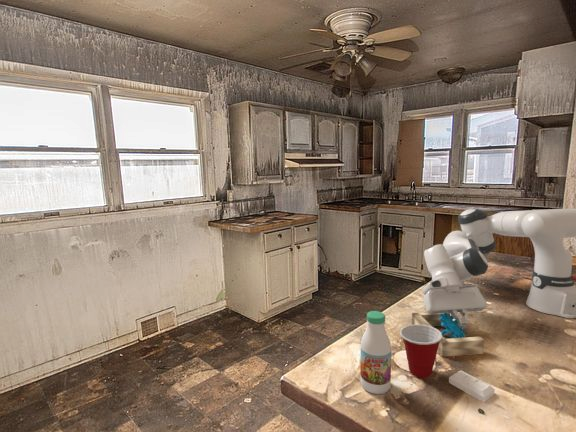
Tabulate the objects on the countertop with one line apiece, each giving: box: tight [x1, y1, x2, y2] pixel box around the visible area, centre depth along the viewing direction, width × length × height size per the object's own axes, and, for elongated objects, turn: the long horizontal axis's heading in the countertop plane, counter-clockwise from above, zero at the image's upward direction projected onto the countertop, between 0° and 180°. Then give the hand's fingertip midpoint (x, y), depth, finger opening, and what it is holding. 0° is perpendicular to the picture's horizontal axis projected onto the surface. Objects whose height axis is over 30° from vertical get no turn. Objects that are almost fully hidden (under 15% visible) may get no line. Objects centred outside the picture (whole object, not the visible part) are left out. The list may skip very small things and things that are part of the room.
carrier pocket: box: [411, 311, 485, 358], centre depth 107 cm, size 13×20×4 cm, turn 4°
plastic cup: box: [399, 324, 443, 379], centre depth 90 cm, size 11×11×12 cm
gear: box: [439, 313, 466, 338], centre depth 108 cm, size 11×6×10 cm
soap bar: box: [448, 370, 496, 403], centre depth 84 cm, size 5×9×3 cm, turn 33°
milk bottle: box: [359, 310, 392, 395], centre depth 84 cm, size 8×8×20 cm
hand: (463, 324), depth 107 cm, fingers closed
